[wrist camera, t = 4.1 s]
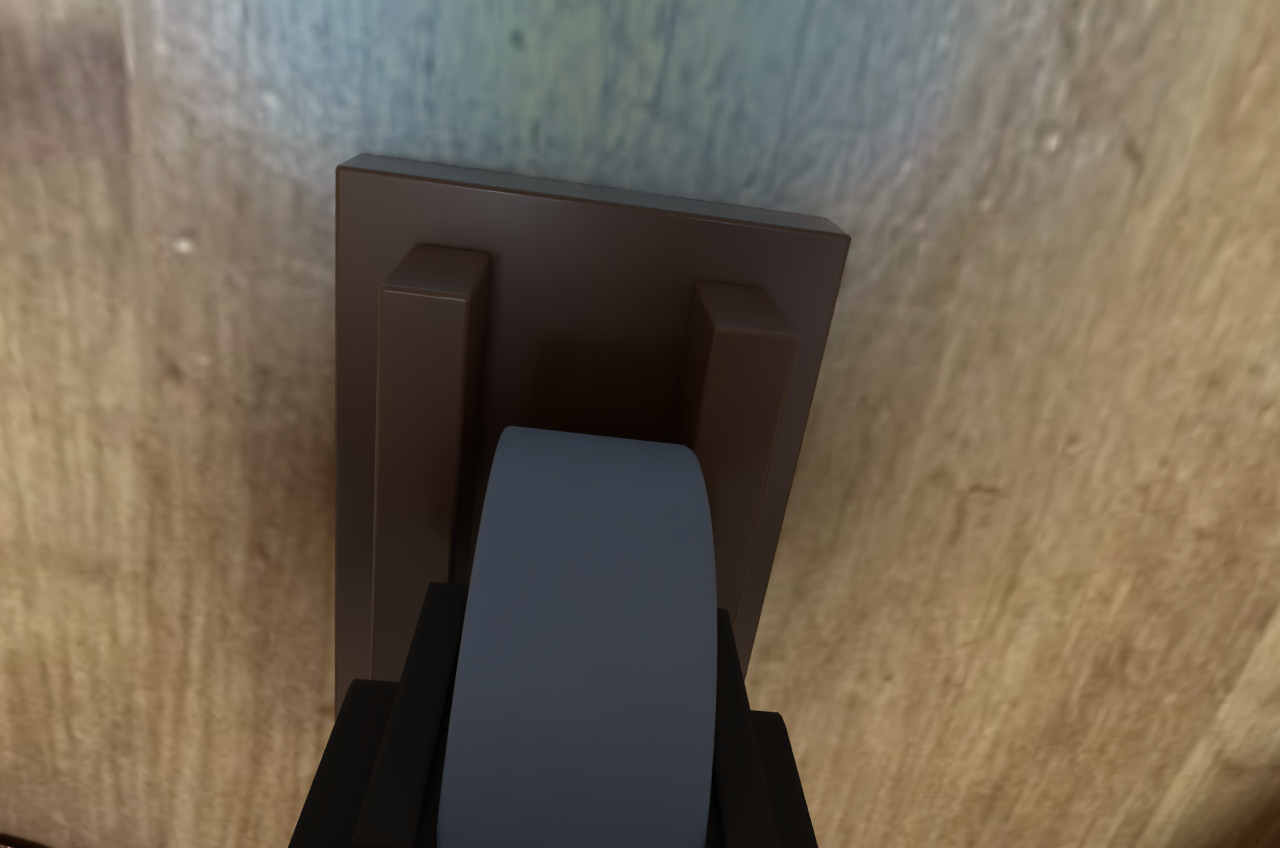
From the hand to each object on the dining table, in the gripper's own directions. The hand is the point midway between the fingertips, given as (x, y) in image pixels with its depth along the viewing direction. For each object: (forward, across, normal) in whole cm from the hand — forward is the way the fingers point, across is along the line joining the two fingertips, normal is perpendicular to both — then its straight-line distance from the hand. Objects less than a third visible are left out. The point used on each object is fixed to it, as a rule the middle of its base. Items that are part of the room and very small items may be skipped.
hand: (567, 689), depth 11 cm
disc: (+3, 0, 0) cm, 3 cm away
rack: (+6, 0, 0) cm, 6 cm away
